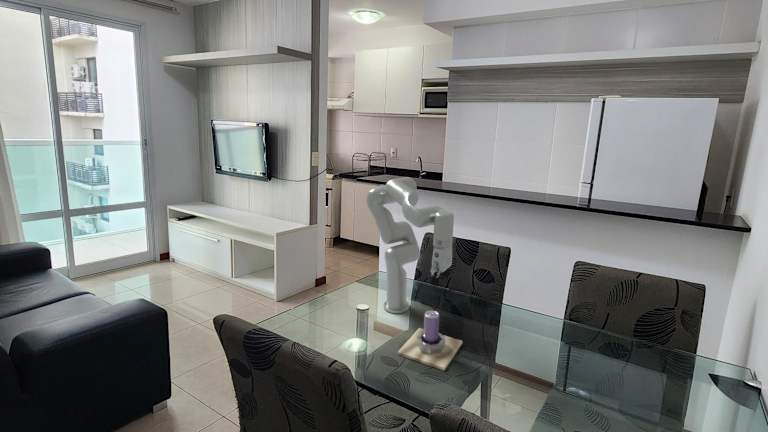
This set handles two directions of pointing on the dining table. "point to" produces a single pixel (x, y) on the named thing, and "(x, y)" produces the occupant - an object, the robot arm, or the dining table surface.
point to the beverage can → (431, 327)
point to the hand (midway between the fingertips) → (440, 280)
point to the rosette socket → (431, 350)
